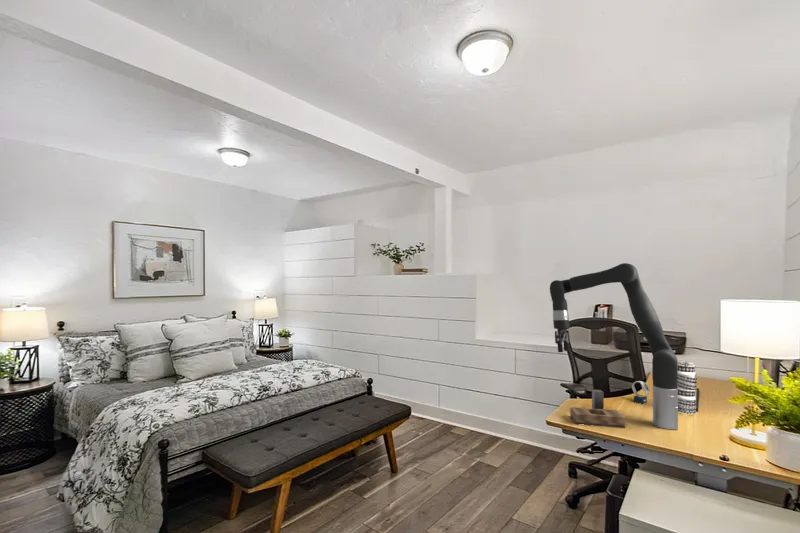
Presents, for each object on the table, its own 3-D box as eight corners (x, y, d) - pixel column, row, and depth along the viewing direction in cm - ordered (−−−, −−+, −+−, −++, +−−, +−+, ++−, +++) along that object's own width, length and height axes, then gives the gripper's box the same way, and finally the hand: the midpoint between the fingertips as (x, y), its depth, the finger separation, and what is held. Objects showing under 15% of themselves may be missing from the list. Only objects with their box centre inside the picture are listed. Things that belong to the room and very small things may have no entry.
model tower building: (673, 408, 203) (673, 359, 203) (696, 412, 198) (695, 361, 199) (674, 413, 195) (674, 362, 196) (698, 417, 190) (698, 364, 191)
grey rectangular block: (600, 413, 193) (600, 390, 194) (603, 415, 189) (603, 392, 190) (591, 412, 194) (592, 389, 194) (594, 415, 190) (594, 391, 191)
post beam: (616, 420, 184) (616, 410, 184) (625, 428, 174) (625, 417, 174) (570, 416, 187) (570, 407, 187) (576, 424, 177) (576, 414, 177)
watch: (647, 405, 207) (647, 383, 208) (630, 401, 214) (630, 380, 214) (651, 403, 211) (651, 382, 211) (634, 399, 217) (634, 379, 218)
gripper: (563, 319, 197) (566, 353, 195) (573, 319, 208) (575, 350, 206) (548, 319, 202) (550, 352, 200) (558, 319, 213) (560, 350, 210)
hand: (563, 351), depth 203 cm, fingers open, 8 cm apart
